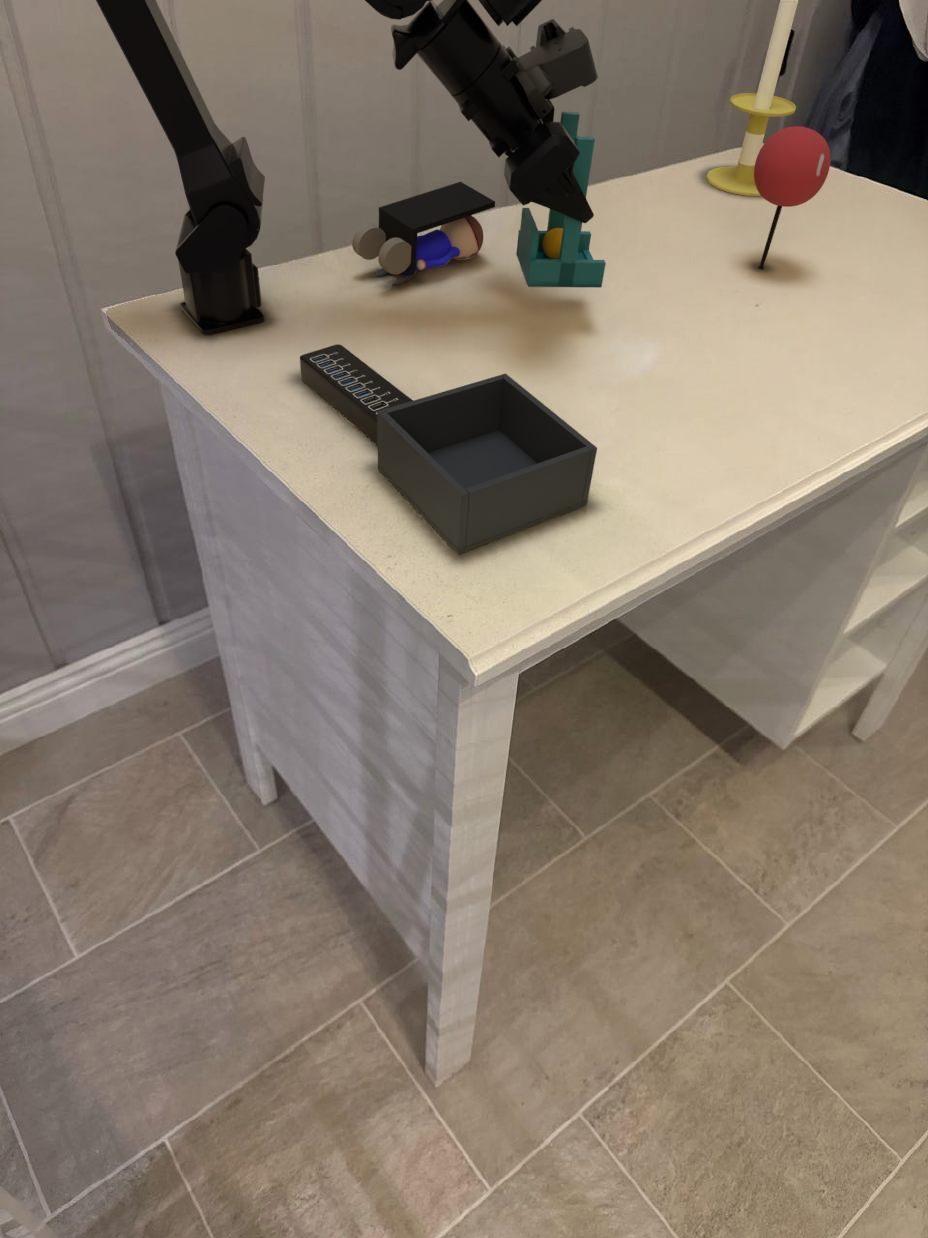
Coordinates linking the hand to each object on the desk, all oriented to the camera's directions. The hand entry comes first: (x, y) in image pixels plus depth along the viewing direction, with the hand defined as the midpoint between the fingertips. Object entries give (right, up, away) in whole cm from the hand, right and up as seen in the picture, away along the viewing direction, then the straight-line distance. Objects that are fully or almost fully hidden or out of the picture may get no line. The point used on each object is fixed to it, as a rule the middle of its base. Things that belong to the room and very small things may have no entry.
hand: (581, 202), depth 88 cm
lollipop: (+23, +1, +19) cm, 30 cm away
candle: (+27, +20, +38) cm, 51 cm away
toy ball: (-2, -2, +4) cm, 5 cm away
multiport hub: (-20, -21, -6) cm, 30 cm away
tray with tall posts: (-2, -5, +5) cm, 7 cm away
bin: (-10, -29, -14) cm, 34 cm away
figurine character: (-16, -1, +14) cm, 21 cm away
